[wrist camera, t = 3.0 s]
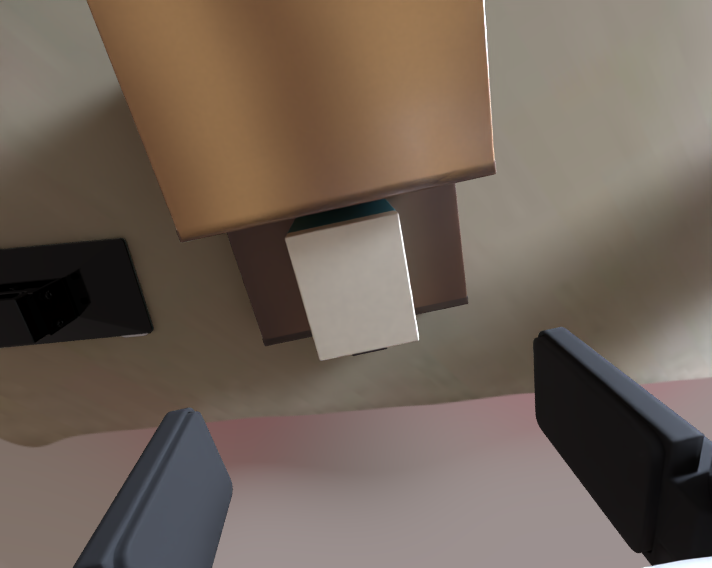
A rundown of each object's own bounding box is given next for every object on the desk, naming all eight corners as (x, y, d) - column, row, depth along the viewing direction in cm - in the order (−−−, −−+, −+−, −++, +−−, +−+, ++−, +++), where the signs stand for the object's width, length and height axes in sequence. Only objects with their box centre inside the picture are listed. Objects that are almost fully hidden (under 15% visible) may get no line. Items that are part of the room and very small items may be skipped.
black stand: (125, 236, 24) (81, 257, 20) (156, 333, 27) (123, 369, 23) (-66, 254, 24) (-154, 279, 20) (-16, 350, 27) (-83, 391, 22)
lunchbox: (385, 198, 22) (398, 212, 17) (404, 308, 24) (420, 347, 20) (295, 218, 22) (284, 237, 17) (324, 325, 24) (321, 368, 20)
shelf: (423, -3, 20) (480, -97, 12) (457, 290, 27) (508, 351, 19) (179, 53, 21) (82, -3, 13) (270, 329, 27) (244, 405, 19)
